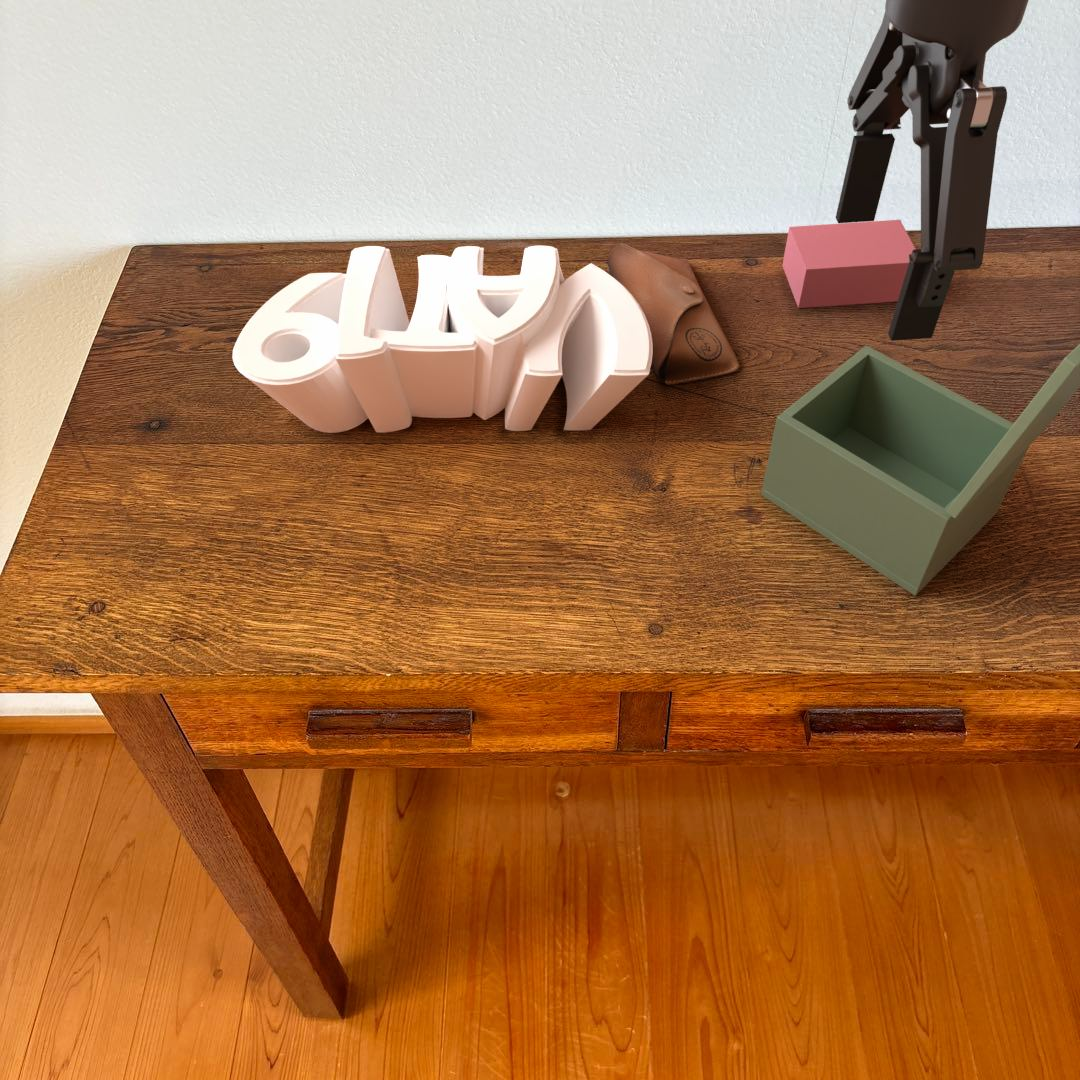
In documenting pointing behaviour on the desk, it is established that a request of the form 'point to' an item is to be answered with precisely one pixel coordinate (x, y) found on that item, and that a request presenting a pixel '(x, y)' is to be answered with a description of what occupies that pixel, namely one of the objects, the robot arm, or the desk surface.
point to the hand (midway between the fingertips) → (880, 274)
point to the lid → (1024, 429)
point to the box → (886, 466)
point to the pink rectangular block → (847, 263)
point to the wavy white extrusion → (446, 343)
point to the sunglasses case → (674, 316)
